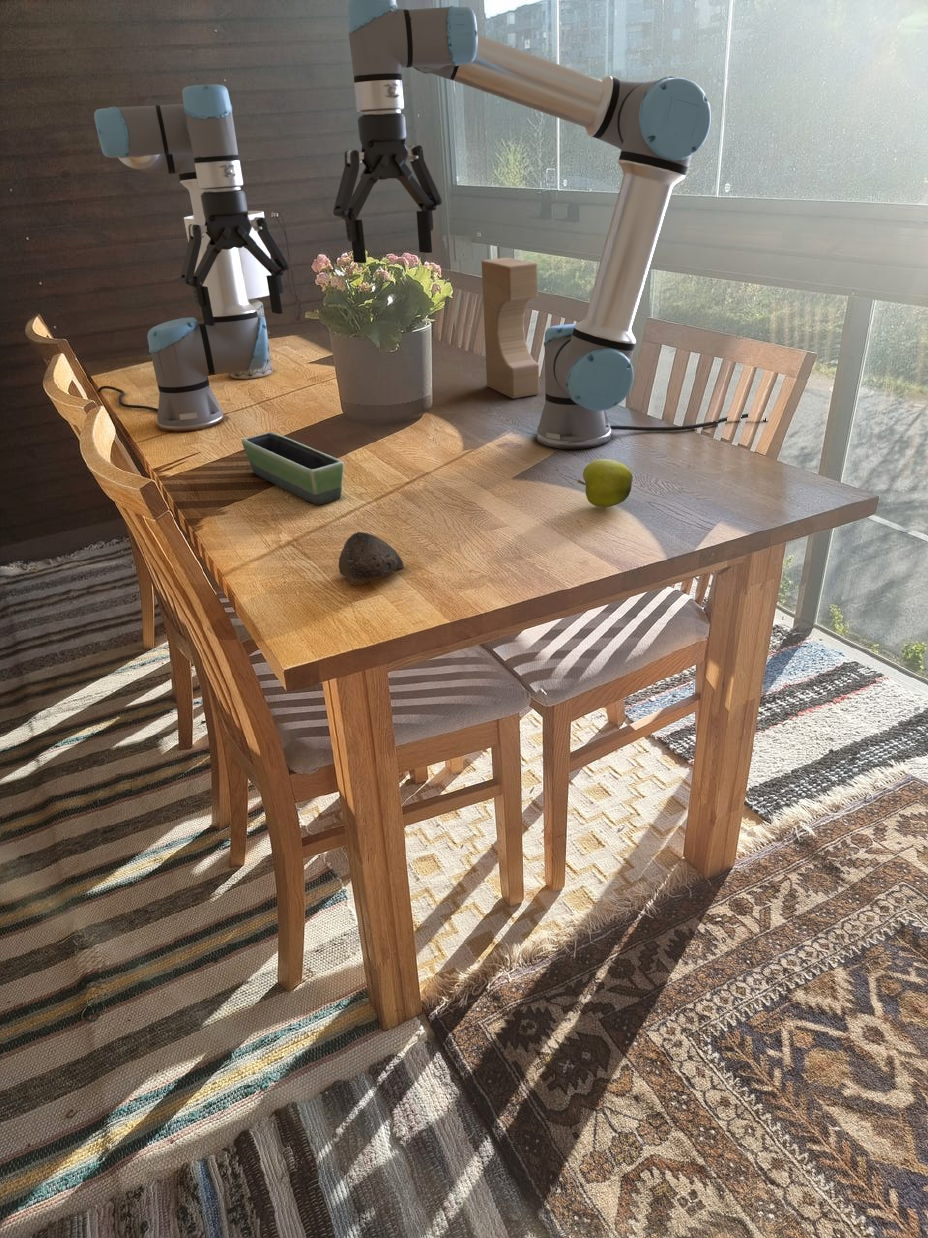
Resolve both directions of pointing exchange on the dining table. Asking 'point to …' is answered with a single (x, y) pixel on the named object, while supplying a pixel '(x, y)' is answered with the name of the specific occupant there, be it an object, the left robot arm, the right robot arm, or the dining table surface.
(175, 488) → the dining table surface
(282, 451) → the planter
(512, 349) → the decorative block
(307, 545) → the dining table surface
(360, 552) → the stone
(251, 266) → the lamp
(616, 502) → the apple
